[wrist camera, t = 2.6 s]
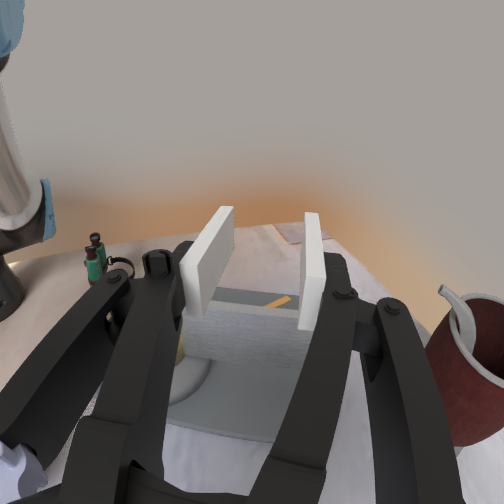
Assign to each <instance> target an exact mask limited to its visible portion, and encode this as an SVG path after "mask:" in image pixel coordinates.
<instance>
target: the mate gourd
mask: <svg viewBox="0 0 504 504" xmlns="http://www.w3.org/2000/svg"><path fill="white" fill-rule="evenodd" d="M438 294H440V295H441V296H443V297H445V298H446V299H447V300H448V302H449V303H450V304H451V306H452V308H451V310H450V311H449V312H448V313H447V314H446V316H445V317H444V318H443V320H442V321H441V323H440V324H439V325H438V327H437V328H436V330H435V331H434V333H433V334H432V336H431V338H430V340H429V342H428V344H427V346H426V347H425V349H424V350H425V352H426V355H427V358H428V361H429V363H430V366H431V369H432V372H433V375H434V378H435V381H436V384H437V387H438V390H439V393H440V397H441V400H442V403H443V407H444V410H445V414H446V417H447V421H448V425H449V429H450V433H451V437H452V441H453V445H454V450H455V455H456V457H457V456H458V455H459V453H460V452H461V450H462V449H463V447H465V446H470V445H473V444H475V443H478V442H480V441H482V440H484V439H486V438H488V437H490V436H491V435H493V434H495V433H496V432H498V431H499V430H501V429H502V428H503V427H504V300H502V299H500V298H497V297H495V296H491V295H487V294H481V293H472V294H467V295H463V296H462V297H459V296H458V295H457V294H455V293H454V292H453V291H452V290H450V289H448V288H447V287H446V286H444V285H443V284H442V285H441V286H440V288H439V290H438Z"/></svg>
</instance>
